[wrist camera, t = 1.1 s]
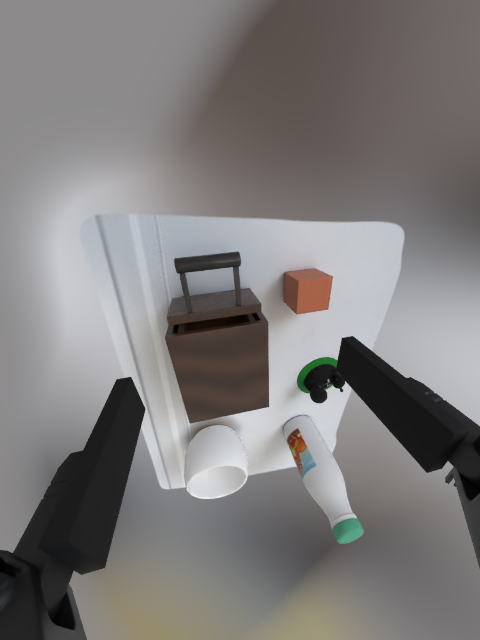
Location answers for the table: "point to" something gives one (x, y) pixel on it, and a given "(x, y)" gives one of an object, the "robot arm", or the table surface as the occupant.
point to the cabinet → (221, 368)
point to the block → (307, 290)
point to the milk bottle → (322, 476)
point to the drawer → (211, 296)
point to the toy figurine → (320, 378)
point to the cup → (215, 463)
